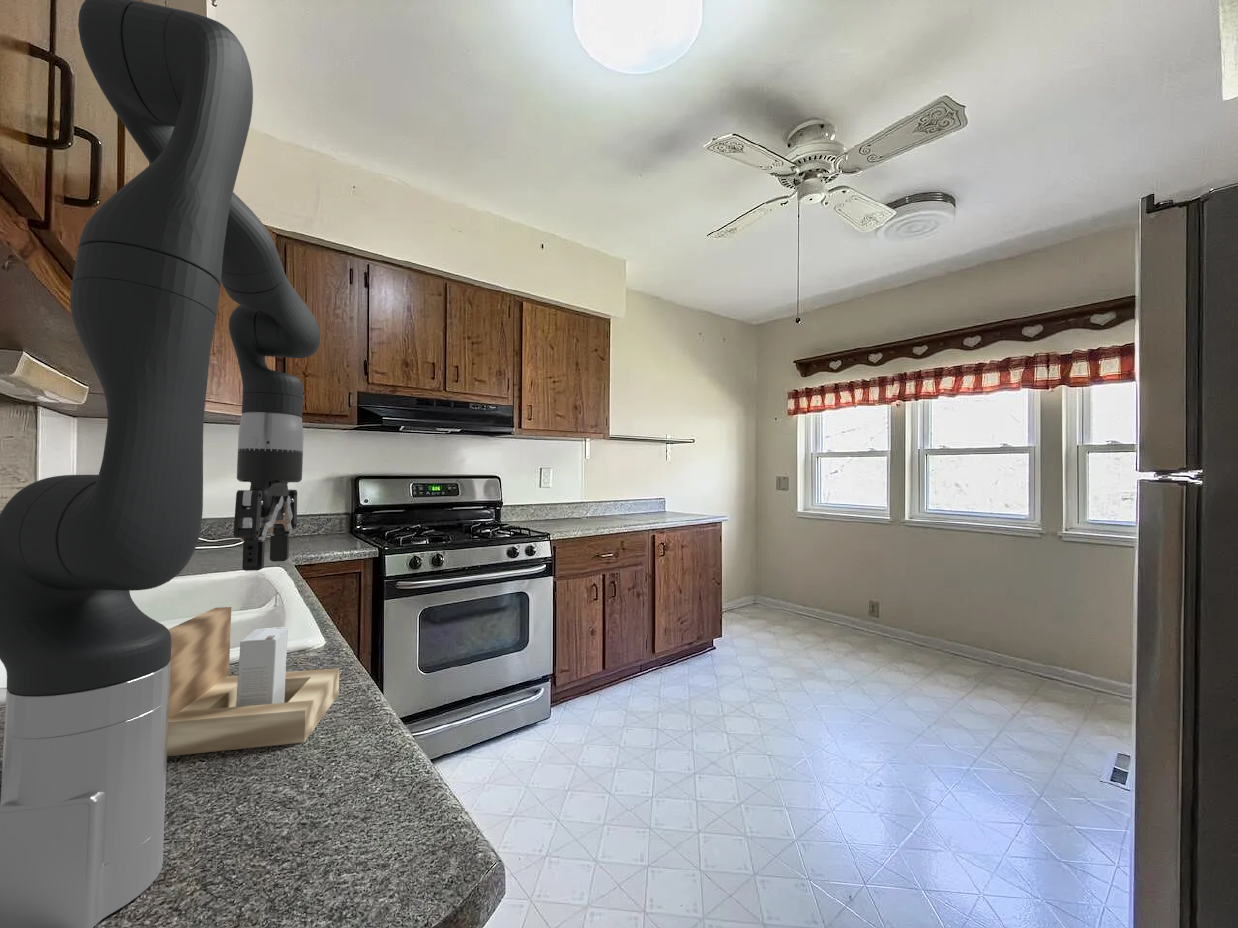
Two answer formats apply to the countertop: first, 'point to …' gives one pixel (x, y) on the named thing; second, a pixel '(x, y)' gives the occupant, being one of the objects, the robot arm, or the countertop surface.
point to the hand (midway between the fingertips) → (266, 565)
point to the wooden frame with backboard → (234, 695)
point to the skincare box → (262, 667)
